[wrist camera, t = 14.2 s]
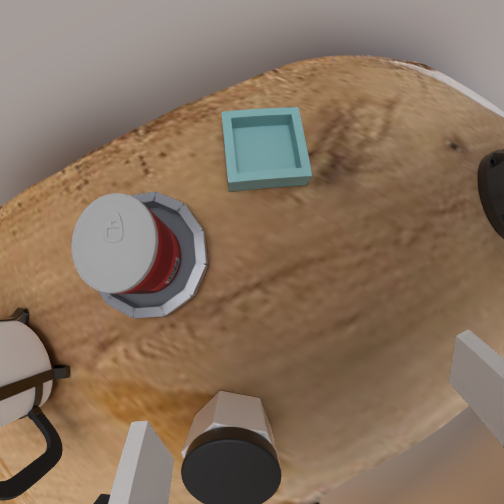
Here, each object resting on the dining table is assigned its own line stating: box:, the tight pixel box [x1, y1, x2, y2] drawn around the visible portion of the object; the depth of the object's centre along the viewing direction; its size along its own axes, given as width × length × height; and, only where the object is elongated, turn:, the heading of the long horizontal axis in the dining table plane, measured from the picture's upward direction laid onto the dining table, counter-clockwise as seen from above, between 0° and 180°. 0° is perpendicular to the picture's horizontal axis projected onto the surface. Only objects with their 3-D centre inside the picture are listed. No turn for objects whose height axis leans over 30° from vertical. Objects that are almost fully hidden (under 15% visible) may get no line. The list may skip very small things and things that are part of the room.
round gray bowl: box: [99, 192, 209, 318], centre depth 32 cm, size 13×13×3 cm
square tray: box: [222, 107, 312, 192], centre depth 34 cm, size 9×9×3 cm
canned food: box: [72, 193, 181, 294], centre depth 27 cm, size 8×8×11 cm
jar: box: [181, 391, 281, 504], centre depth 25 cm, size 9×8×12 cm
